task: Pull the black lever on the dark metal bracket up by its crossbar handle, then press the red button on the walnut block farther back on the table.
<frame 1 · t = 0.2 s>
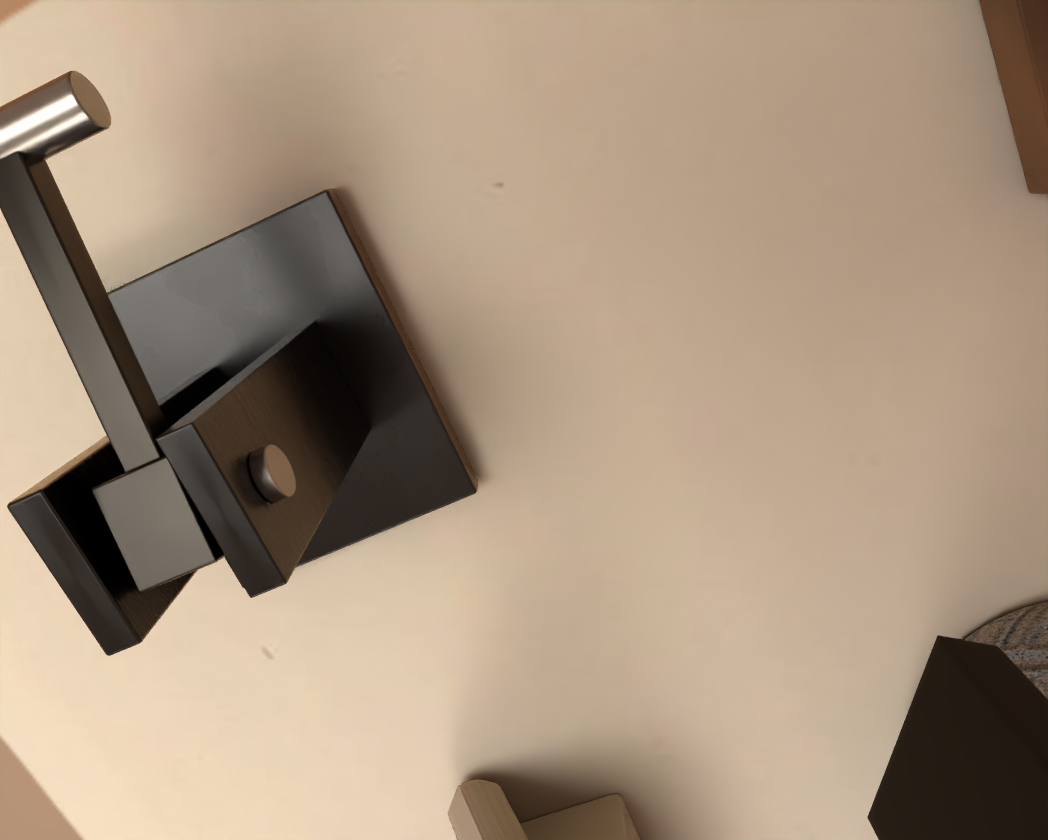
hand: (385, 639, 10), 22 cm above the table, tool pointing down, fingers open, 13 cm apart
vase: (1045, 716, 37), on the table
lever: (98, 344, 22), point 10 cm above the table, hinge at -12.0°
bracket: (290, 394, 32), on the table
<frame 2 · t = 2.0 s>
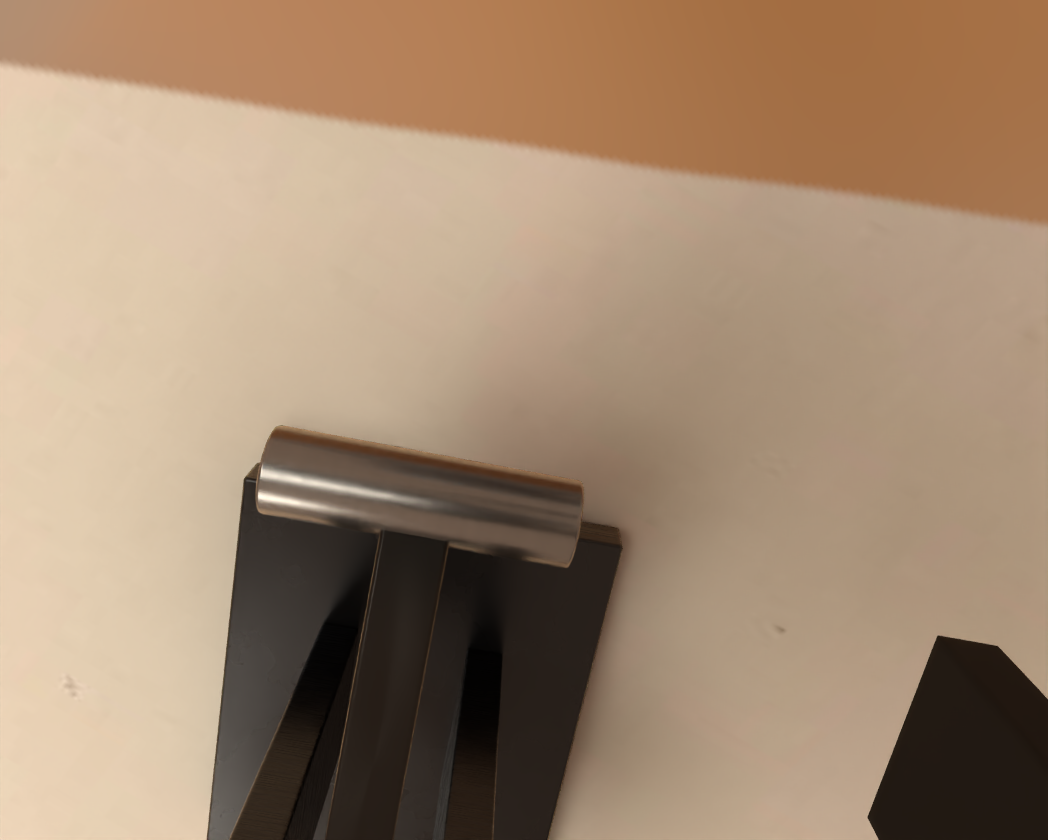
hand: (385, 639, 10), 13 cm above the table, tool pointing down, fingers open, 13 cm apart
lever: (366, 806, 14), point 10 cm above the table, hinge at -12.0°
bracket: (406, 679, 25), on the table
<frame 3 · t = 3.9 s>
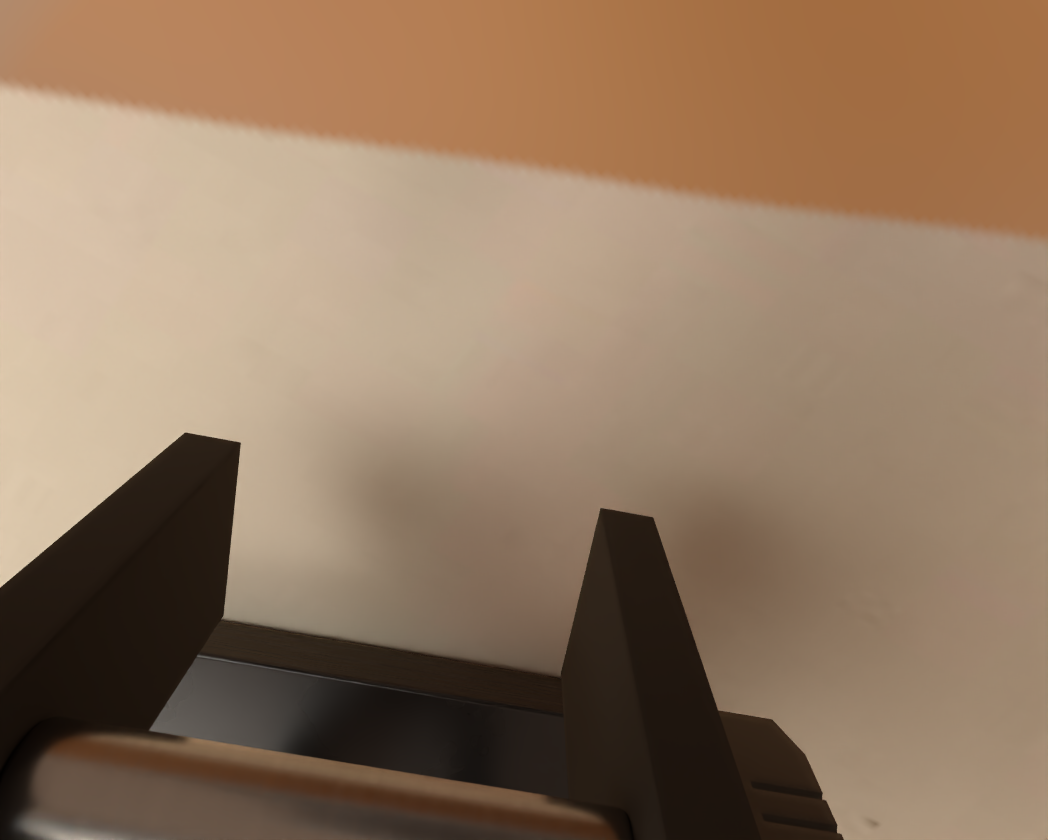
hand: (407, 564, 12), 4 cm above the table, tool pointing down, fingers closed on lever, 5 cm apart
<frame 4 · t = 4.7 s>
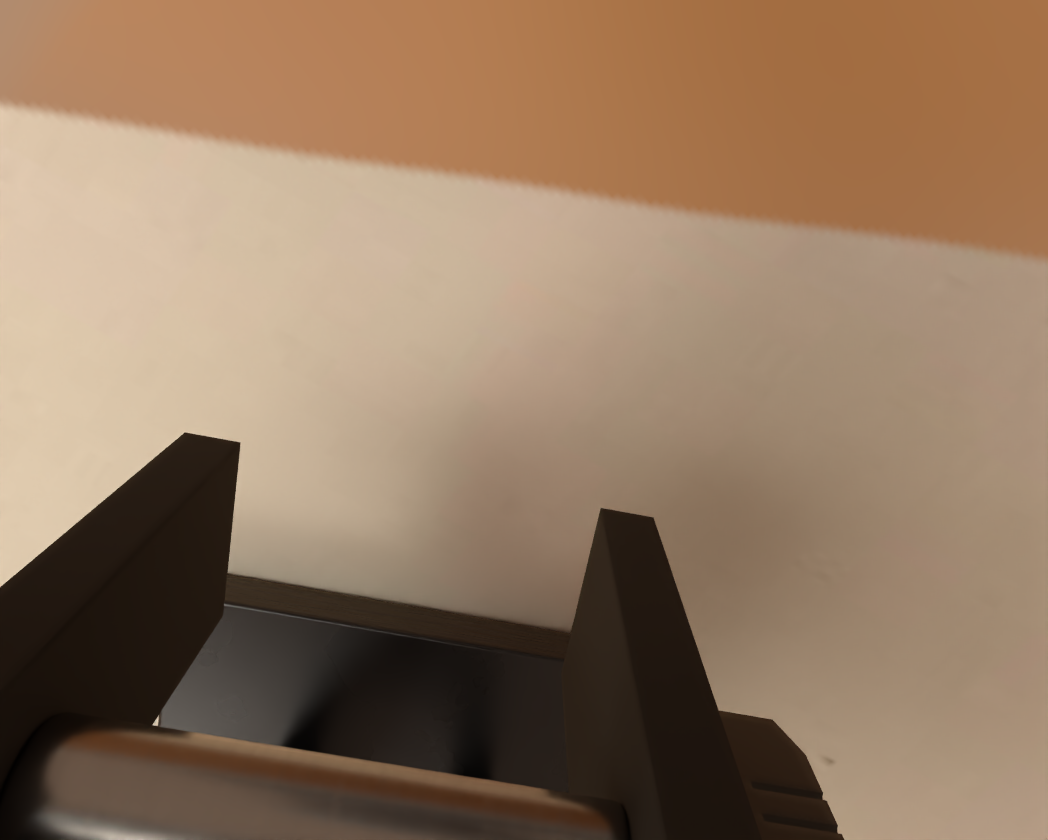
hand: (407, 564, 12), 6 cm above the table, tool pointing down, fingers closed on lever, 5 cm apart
bracket: (376, 821, 21), on the table
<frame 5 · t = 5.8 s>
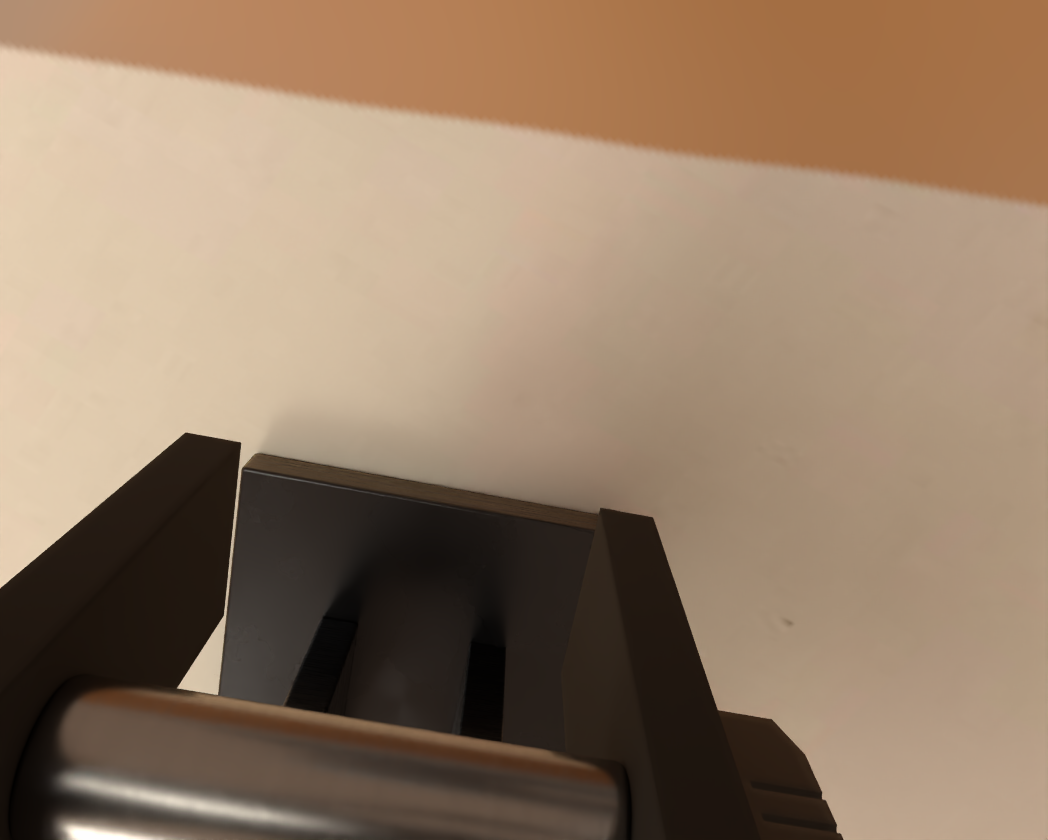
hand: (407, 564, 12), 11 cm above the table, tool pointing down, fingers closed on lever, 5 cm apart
bracket: (407, 676, 25), on the table
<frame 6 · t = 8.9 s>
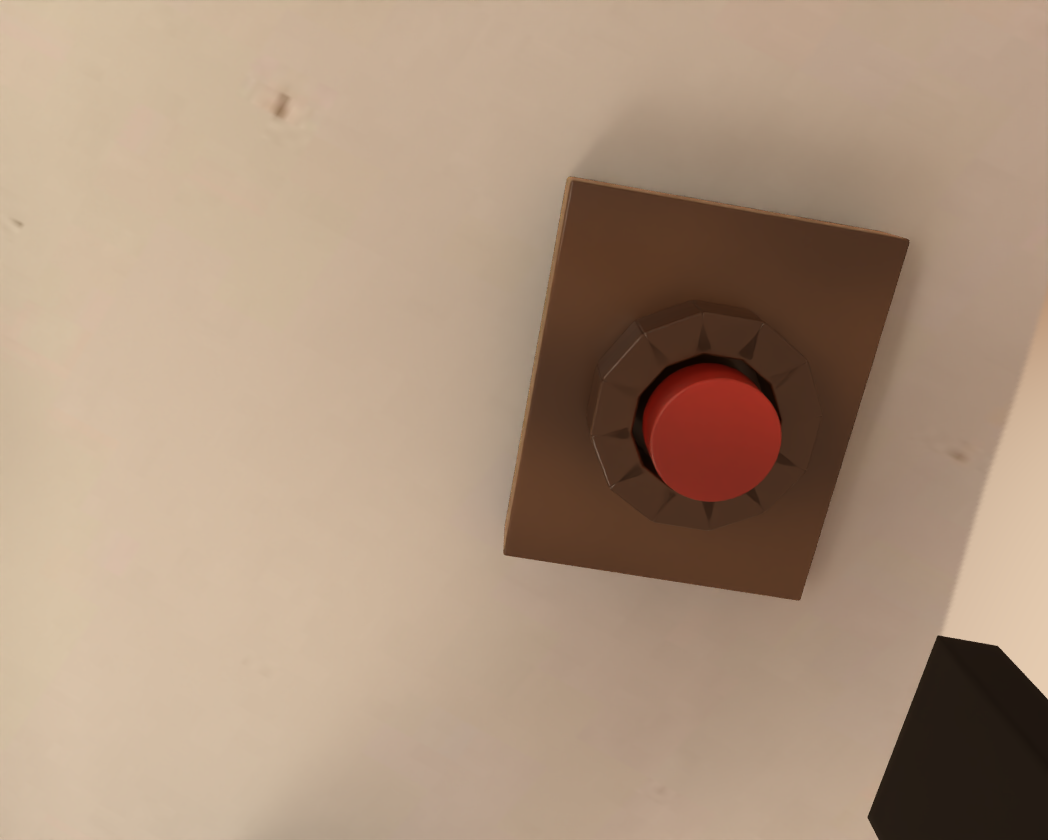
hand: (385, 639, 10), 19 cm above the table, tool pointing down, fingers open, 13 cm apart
button: (709, 431, 24), point 4 cm above the table, slide at 0.1 cm
button block: (682, 387, 29), on the table
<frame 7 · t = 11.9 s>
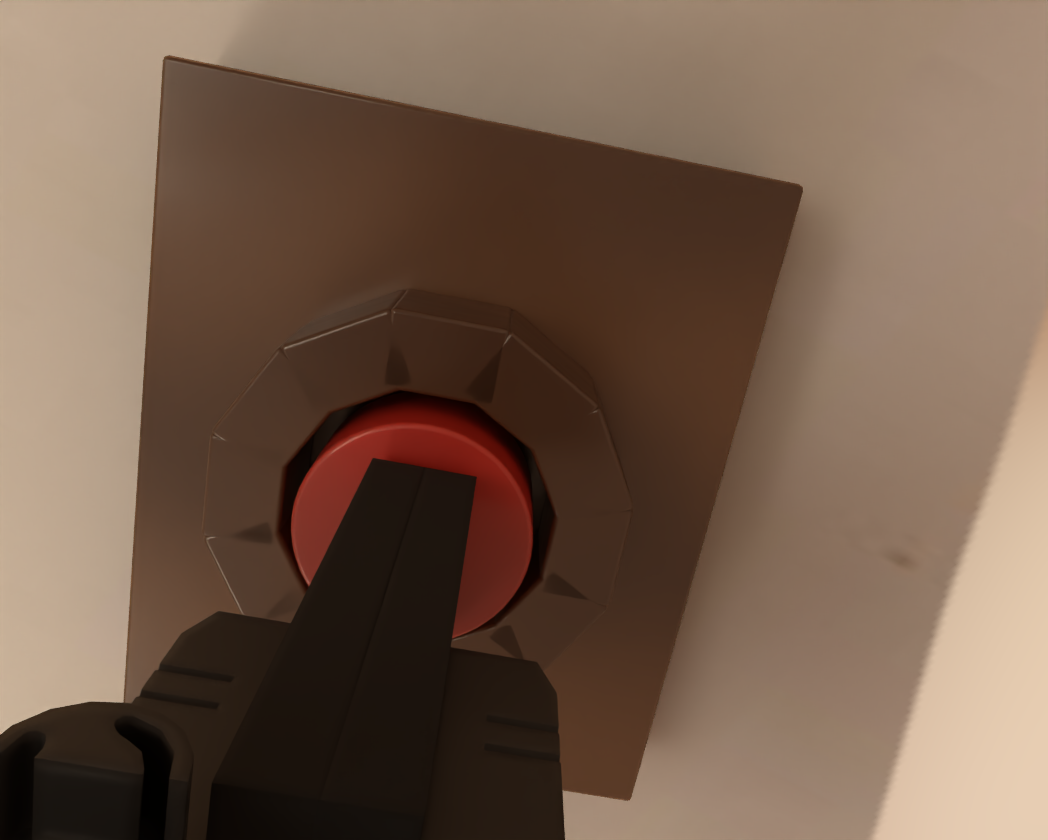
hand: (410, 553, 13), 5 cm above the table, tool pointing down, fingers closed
button: (418, 514, 14), point 4 cm above the table, slide at -0.7 cm, touching gripper
button block: (440, 439, 17), on the table
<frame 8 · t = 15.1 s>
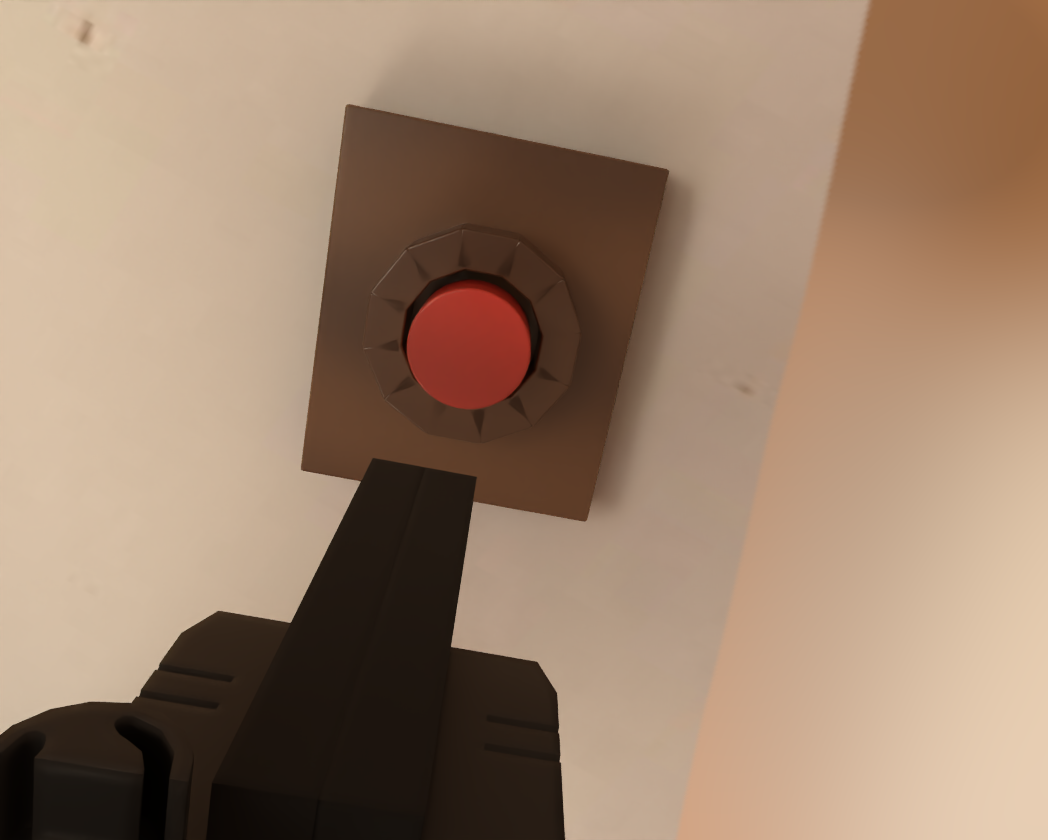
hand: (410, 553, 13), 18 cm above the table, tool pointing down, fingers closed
button: (470, 343, 26), point 4 cm above the table, slide at 0.1 cm
button block: (478, 315, 30), on the table
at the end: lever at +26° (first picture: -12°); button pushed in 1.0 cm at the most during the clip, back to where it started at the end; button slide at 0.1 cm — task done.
